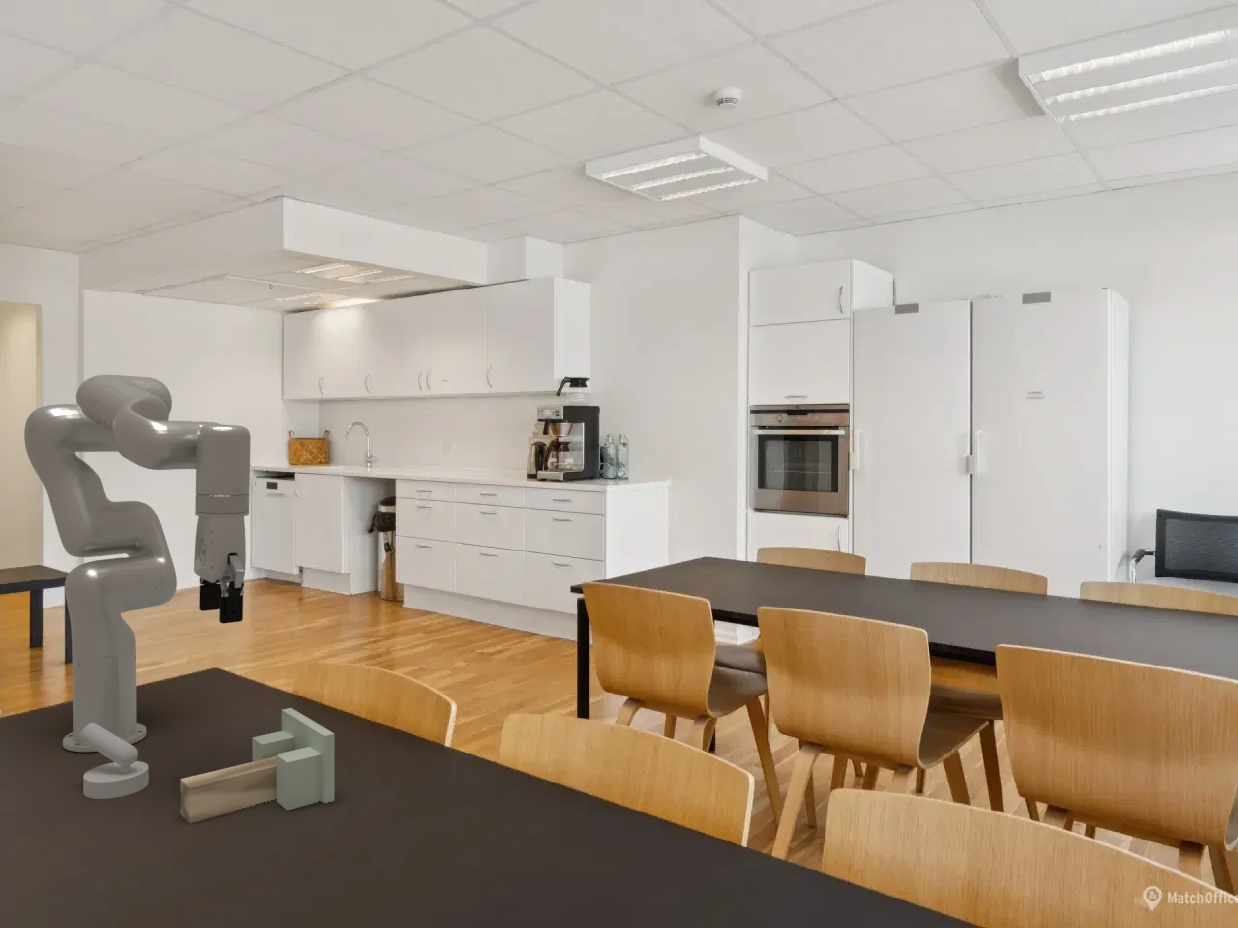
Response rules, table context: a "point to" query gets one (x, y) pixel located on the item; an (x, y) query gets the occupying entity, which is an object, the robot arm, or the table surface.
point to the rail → (228, 789)
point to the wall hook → (112, 766)
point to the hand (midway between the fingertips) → (220, 615)
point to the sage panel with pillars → (300, 760)
